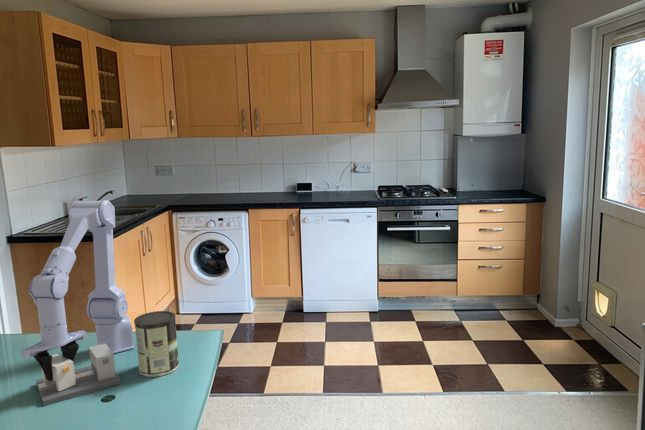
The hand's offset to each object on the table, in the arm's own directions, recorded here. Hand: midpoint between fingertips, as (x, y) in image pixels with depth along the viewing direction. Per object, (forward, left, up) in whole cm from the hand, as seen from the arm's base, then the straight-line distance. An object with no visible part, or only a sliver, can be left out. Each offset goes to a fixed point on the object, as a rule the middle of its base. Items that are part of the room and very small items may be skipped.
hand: (59, 376), depth 125 cm
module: (0, 0, -2) cm, 2 cm away
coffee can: (-23, +4, -4) cm, 24 cm away
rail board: (-4, 0, -3) cm, 5 cm away
